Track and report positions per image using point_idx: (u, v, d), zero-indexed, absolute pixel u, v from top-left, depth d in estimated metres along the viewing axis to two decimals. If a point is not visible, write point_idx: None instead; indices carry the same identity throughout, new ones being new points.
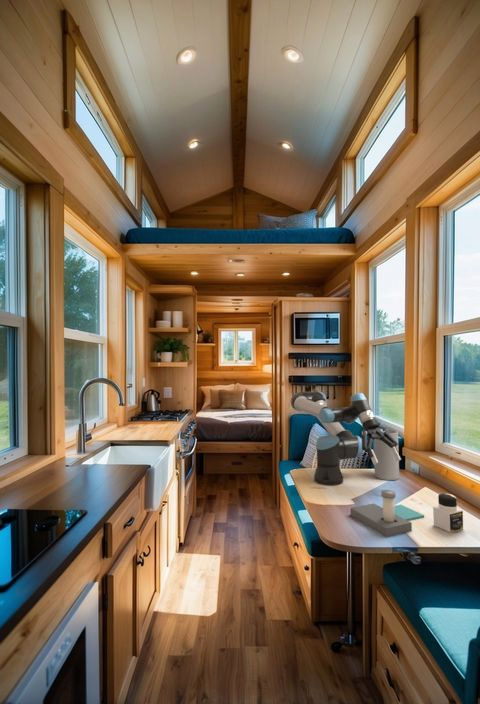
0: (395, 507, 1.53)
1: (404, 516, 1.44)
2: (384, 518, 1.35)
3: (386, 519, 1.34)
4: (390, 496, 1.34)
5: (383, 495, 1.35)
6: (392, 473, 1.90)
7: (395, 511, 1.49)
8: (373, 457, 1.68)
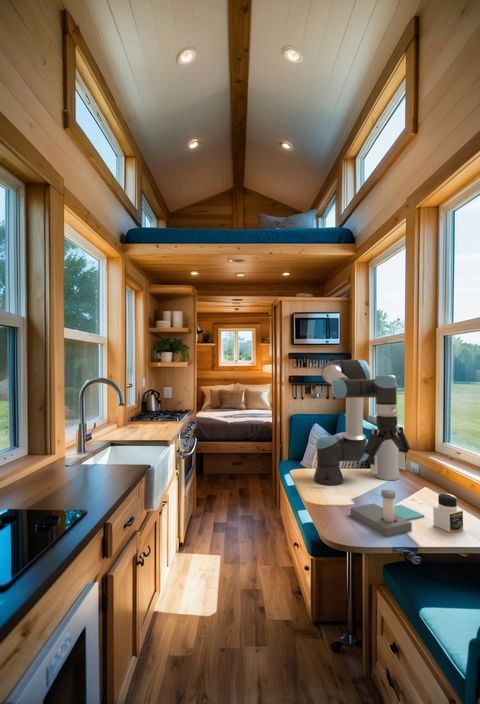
0: (395, 507, 1.53)
1: (404, 516, 1.44)
2: (384, 518, 1.35)
3: (386, 519, 1.34)
4: (390, 496, 1.34)
5: (383, 495, 1.35)
6: (392, 473, 1.90)
7: (395, 511, 1.49)
8: (373, 465, 1.34)
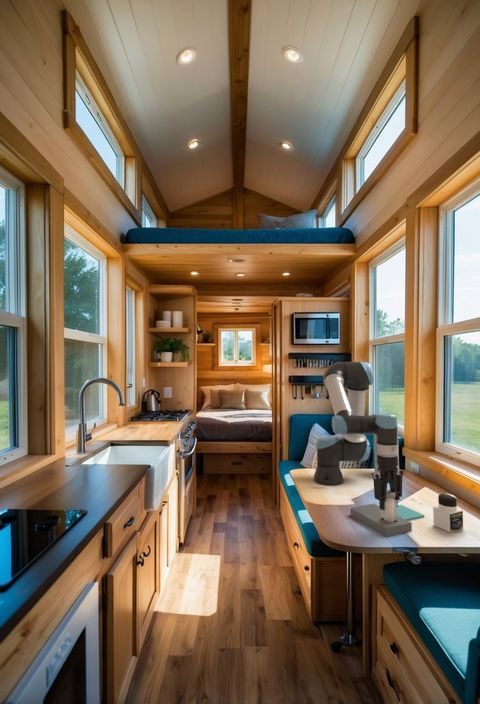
0: None
1: (404, 516, 1.44)
2: None
3: (387, 519, 1.34)
4: (390, 496, 1.34)
5: None
6: None
7: None
8: (384, 511, 1.34)
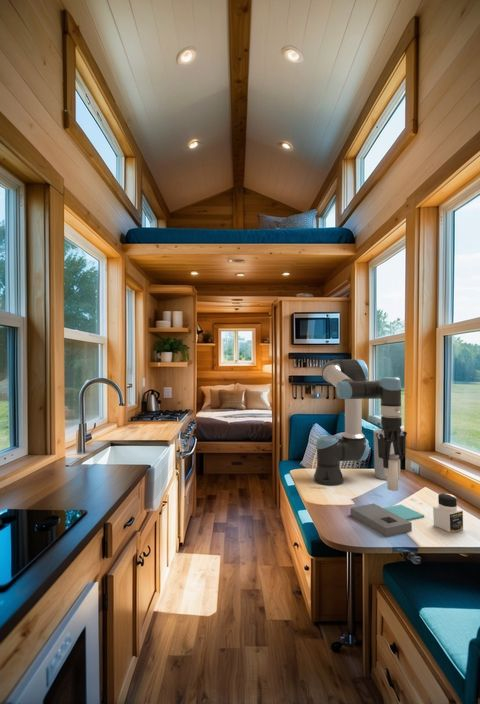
0: (395, 507, 1.53)
1: (404, 516, 1.44)
2: (388, 479, 1.41)
3: (390, 480, 1.40)
4: (394, 458, 1.39)
5: None
6: None
7: (395, 511, 1.49)
8: (387, 469, 1.40)
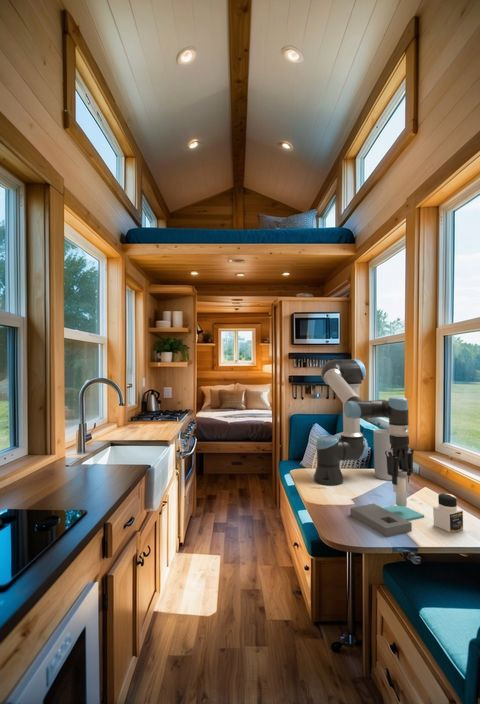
0: (395, 507, 1.53)
1: (404, 516, 1.44)
2: (397, 495, 1.48)
3: (399, 496, 1.47)
4: (402, 475, 1.46)
5: None
6: None
7: (395, 511, 1.49)
8: (396, 486, 1.47)
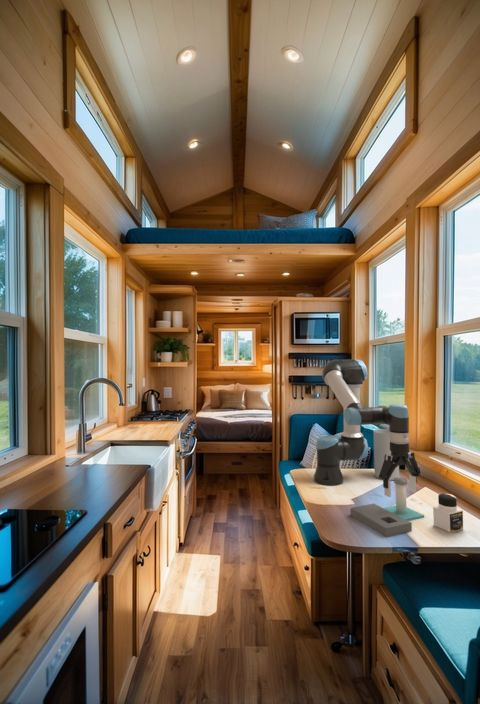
0: (395, 507, 1.53)
1: (404, 516, 1.44)
2: (397, 503, 1.48)
3: (399, 504, 1.47)
4: (402, 482, 1.46)
5: (396, 482, 1.47)
6: (392, 473, 1.90)
7: (395, 511, 1.49)
8: (387, 489, 1.46)
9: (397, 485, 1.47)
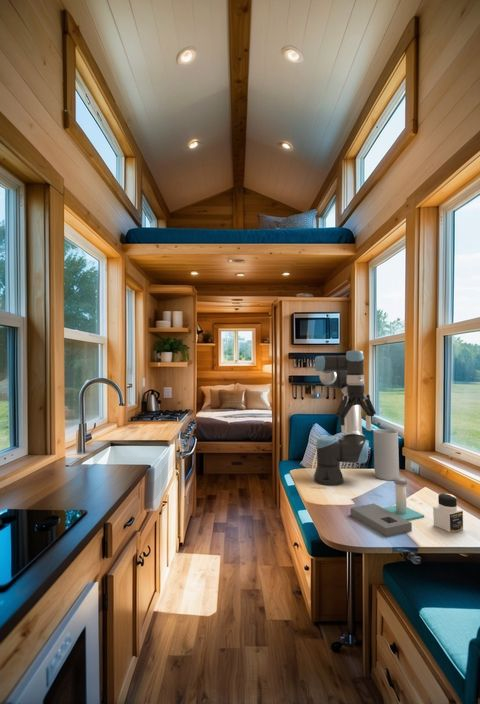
0: (395, 507, 1.53)
1: (404, 516, 1.44)
2: (397, 503, 1.48)
3: (399, 504, 1.47)
4: (402, 482, 1.46)
5: (396, 482, 1.47)
6: (392, 473, 1.90)
7: (395, 511, 1.49)
8: (343, 426, 1.59)
9: (397, 485, 1.47)
